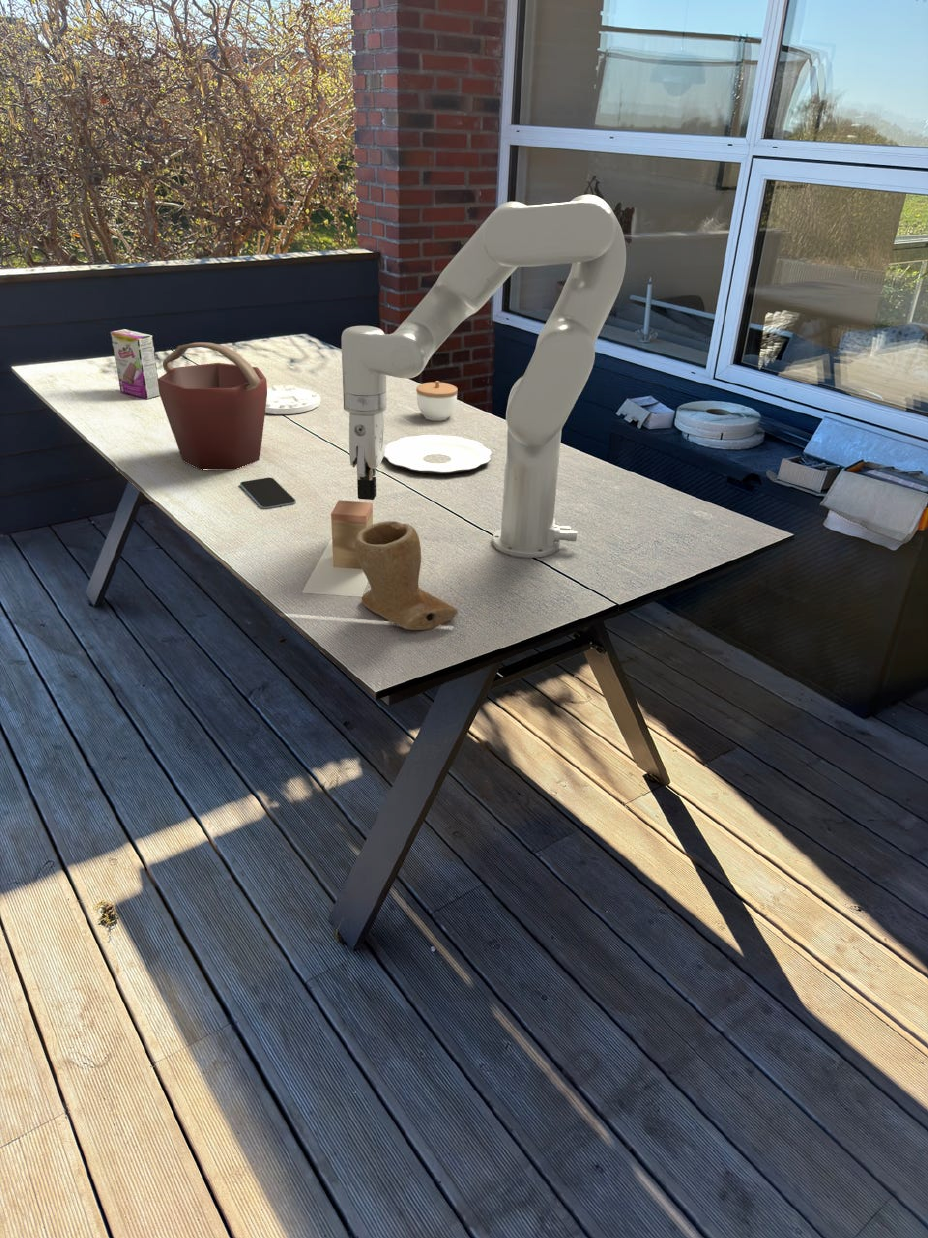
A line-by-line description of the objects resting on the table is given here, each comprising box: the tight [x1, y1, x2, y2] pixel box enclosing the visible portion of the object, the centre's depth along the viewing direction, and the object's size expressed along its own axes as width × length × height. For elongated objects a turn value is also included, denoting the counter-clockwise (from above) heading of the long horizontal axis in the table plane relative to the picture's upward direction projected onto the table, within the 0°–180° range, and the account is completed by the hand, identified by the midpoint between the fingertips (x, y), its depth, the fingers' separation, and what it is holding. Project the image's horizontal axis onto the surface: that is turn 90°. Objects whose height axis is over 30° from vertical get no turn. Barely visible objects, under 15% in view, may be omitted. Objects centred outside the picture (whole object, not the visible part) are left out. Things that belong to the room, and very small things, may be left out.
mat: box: [301, 537, 369, 598], centre depth 156 cm, size 10×22×1 cm, turn 175°
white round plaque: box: [265, 384, 321, 415], centre depth 239 cm, size 20×20×3 cm
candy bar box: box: [110, 328, 160, 400], centre depth 239 cm, size 11×5×16 cm, turn 58°
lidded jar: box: [415, 380, 459, 422], centre depth 232 cm, size 11×11×9 cm
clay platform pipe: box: [355, 520, 459, 631], centre depth 138 cm, size 15×12×15 cm
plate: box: [383, 434, 493, 475], centre depth 206 cm, size 25×25×2 cm
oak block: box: [330, 500, 374, 569], centre depth 155 cm, size 6×6×10 cm
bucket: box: [157, 341, 268, 471], centre depth 196 cm, size 24×22×25 cm
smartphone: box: [239, 476, 296, 510], centre depth 184 cm, size 7×1×15 cm
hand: (367, 497), depth 166 cm, fingers closed
